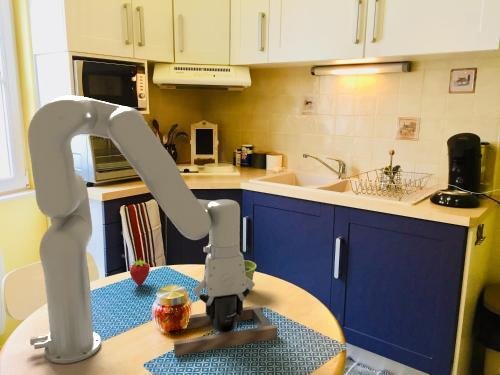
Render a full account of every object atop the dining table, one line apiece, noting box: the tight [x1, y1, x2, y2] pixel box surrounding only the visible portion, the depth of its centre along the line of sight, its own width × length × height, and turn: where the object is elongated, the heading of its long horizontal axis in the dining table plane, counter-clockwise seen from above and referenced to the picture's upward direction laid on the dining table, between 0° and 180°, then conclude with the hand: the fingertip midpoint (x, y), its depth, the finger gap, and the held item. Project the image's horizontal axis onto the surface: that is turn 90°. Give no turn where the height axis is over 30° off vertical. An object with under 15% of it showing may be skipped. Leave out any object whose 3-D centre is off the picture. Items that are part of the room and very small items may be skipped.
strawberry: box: [129, 258, 150, 287], centre depth 136 cm, size 6×8×10 cm
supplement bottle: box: [210, 294, 238, 333], centre depth 109 cm, size 7×7×12 cm
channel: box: [173, 304, 278, 357], centre depth 110 cm, size 26×12×3 cm, turn 108°
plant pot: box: [244, 259, 257, 293], centre depth 134 cm, size 9×9×9 cm
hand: (224, 314), depth 109 cm, fingers closed on supplement bottle, 6 cm apart
